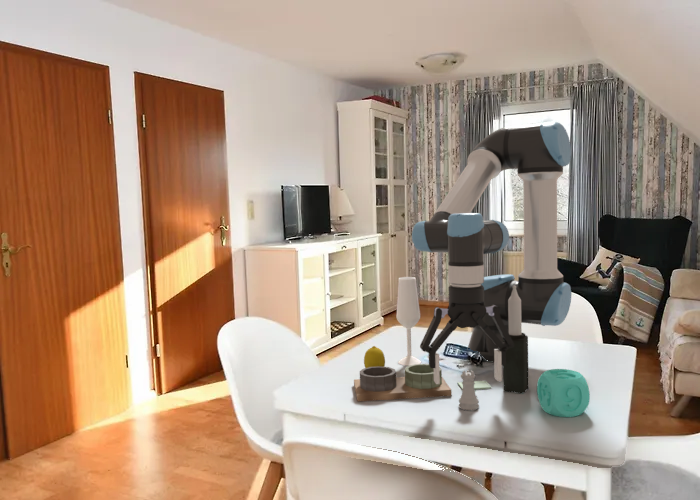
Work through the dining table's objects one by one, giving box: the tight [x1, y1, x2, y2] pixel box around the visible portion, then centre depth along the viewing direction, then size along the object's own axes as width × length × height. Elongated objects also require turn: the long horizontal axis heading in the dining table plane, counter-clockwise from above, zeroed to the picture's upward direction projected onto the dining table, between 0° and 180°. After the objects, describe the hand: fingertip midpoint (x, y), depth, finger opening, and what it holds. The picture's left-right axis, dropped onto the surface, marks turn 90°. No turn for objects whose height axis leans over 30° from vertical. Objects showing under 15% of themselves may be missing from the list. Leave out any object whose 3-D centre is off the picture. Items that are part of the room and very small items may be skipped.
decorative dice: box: [536, 368, 590, 418], centre depth 126 cm, size 8×8×8 cm
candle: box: [502, 285, 530, 394], centre depth 140 cm, size 5×5×25 cm
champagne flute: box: [396, 276, 422, 367], centre depth 167 cm, size 7×7×24 cm
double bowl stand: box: [353, 363, 453, 402], centre depth 144 cm, size 22×12×5 cm, turn 93°
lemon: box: [363, 345, 386, 368], centre depth 156 cm, size 6×6×8 cm
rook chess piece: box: [458, 369, 480, 412], centre depth 130 cm, size 4×4×8 cm
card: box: [457, 380, 492, 391], centre depth 145 cm, size 7×5×1 cm
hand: (467, 381), depth 130 cm, fingers open, 13 cm apart
